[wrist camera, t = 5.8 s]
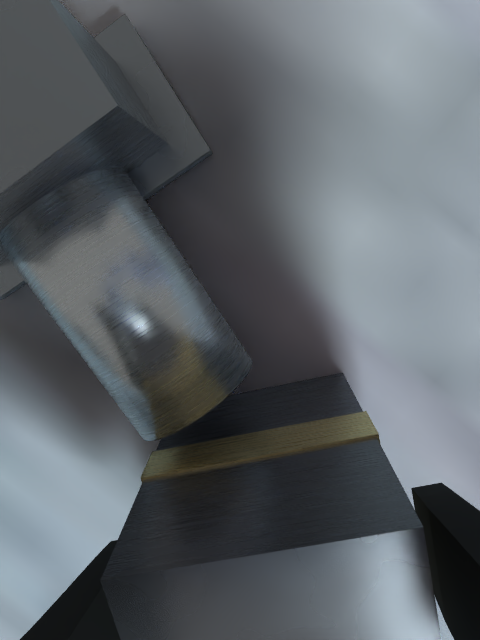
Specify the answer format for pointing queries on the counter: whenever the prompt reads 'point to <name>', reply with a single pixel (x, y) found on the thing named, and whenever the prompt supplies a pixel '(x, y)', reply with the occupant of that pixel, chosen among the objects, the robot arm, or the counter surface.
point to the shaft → (106, 214)
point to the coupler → (273, 528)
